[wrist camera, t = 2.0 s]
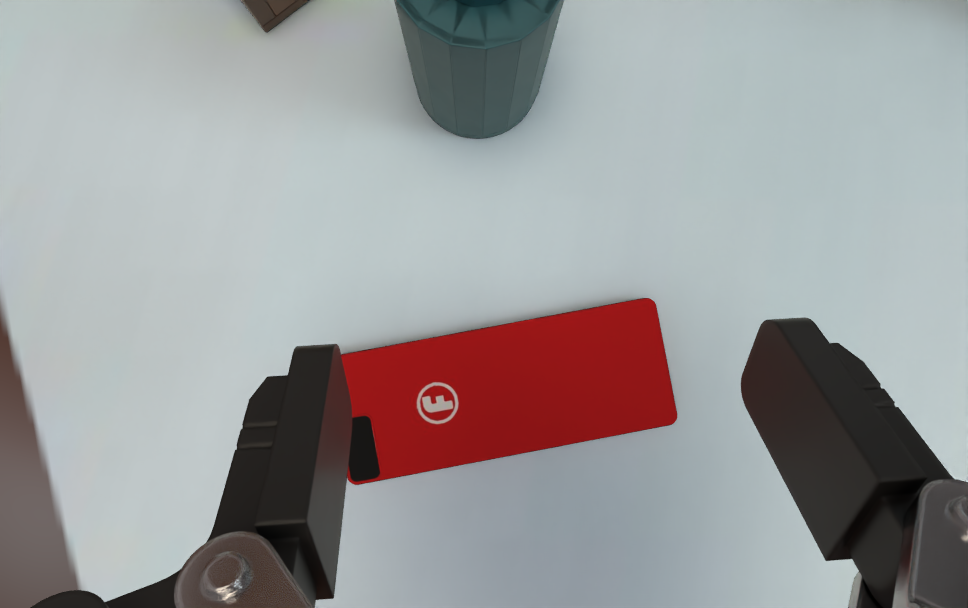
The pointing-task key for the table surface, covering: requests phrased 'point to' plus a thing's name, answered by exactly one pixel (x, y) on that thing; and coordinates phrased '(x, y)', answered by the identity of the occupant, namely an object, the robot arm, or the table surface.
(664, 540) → the table surface
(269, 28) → the compartment tray
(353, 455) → the electronic device
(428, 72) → the bottle
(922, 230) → the table surface
